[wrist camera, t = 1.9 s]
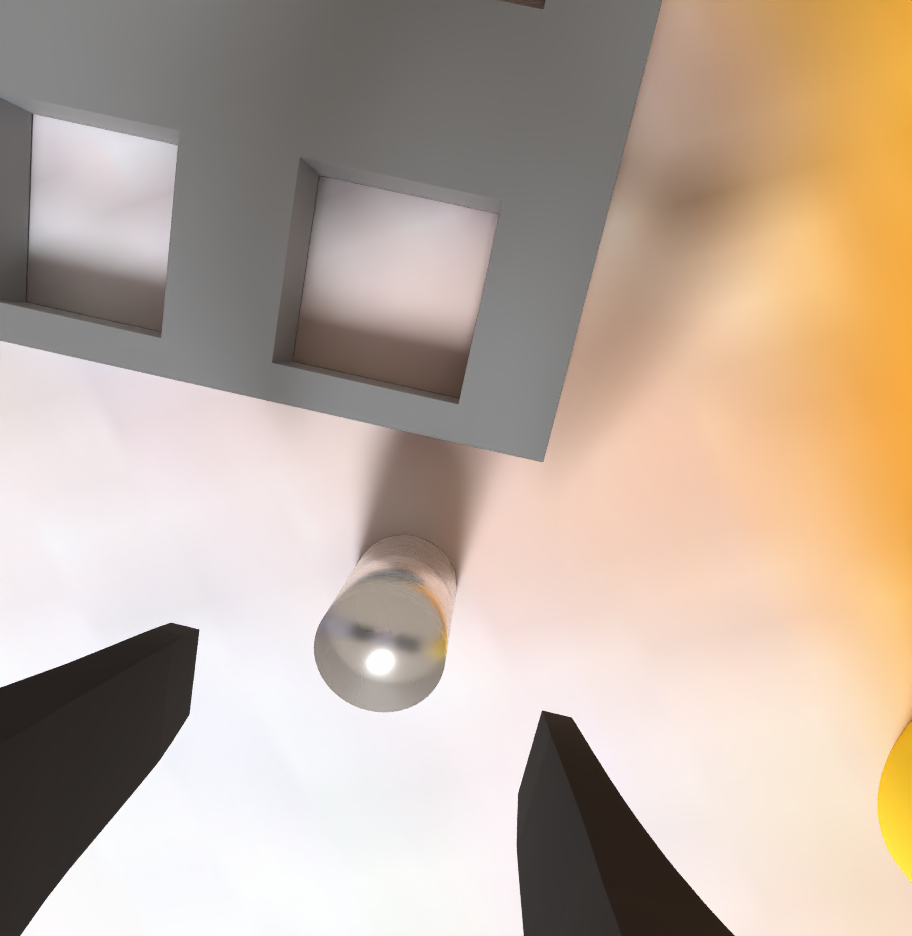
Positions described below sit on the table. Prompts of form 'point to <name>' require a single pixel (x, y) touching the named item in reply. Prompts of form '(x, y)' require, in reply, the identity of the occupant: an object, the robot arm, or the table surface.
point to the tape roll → (898, 802)
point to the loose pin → (389, 626)
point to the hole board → (336, 177)
